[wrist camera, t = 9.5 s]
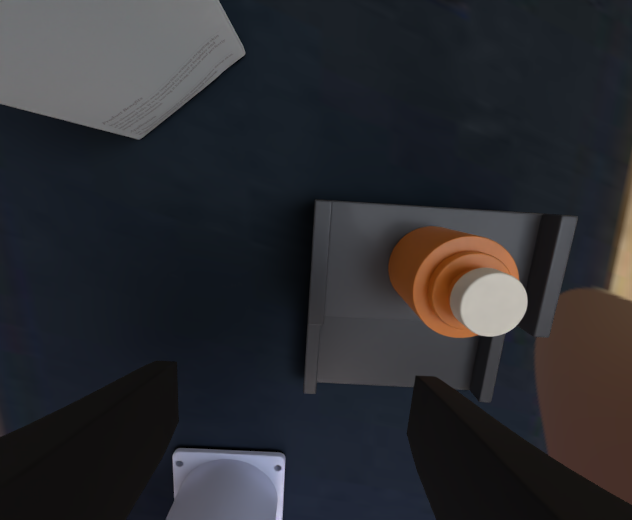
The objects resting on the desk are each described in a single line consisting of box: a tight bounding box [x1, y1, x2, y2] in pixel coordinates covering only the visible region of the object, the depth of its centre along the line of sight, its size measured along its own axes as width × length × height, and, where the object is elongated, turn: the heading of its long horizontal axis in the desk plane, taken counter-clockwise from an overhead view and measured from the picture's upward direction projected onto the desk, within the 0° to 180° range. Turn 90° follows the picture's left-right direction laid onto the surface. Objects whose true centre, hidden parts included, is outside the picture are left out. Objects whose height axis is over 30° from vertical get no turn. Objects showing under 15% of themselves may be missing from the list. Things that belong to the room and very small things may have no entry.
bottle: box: [388, 226, 528, 338], centre depth 12 cm, size 4×4×6 cm
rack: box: [303, 199, 578, 402], centre depth 17 cm, size 12×12×5 cm
